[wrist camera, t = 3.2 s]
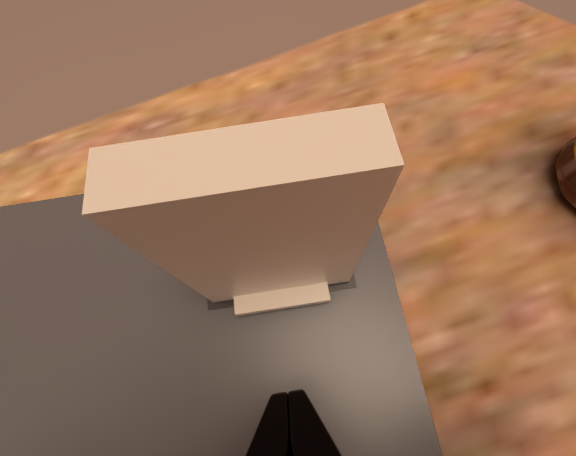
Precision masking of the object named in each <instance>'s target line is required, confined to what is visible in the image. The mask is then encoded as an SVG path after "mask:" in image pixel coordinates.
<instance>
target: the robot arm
mask: <svg viewBox="0 0 576 456" xmlns="http://www.w3.org/2000/svg"><path fill="white" fill-rule="evenodd" d="M245 456H342V455H341V453H340V451H339V450H338V448H337V446H336V444H335V443H334V441H333V439H332V437H331V436H330V434H329V432H328V430H327V429H326V427H325V425H324V424H323V422H322V420H321V418H320V417H319V415H318V413H317V411H316V410H315V408H314V406H313V404H312V403H311V401H310V399H309V397H308V396H307V394H306V392H305V391H304V390H303V389H299V390H292V391H289V392H288V393H287V392H279V393H273V394H272V395H271V396H270V398H269V400H268V403H267V405H266V408H265V410H264V412H263V415H262V417H261V419H260V422H259V424H258V427H257V429H256V431H255V434H254V436H253V439H252V441H251V443H250V446H249V448H248V450H247V453H246V455H245Z"/></svg>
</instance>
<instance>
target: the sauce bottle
mask: <svg viewBox="0 0 576 456" xmlns="http://www.w3.org/2000/svg"><path fill="white" fill-rule="evenodd" d="M555 168H556V174H557V179H558V182H559V185H560V190H561V192H562V194H563V195H564V197H565V198H566V199H567V201H568V202H569V203H570V204H572V205H573V206H574V207H575V208H576V137H575V138H574V139H572V140H571V141H569V142H568V143H567V144H566V145H565V147H564V148H563V149H562V150H561V151H560V156H559V157H558V159H557V161H556V164H555Z"/></svg>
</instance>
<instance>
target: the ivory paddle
mask: <svg viewBox="0 0 576 456" xmlns="http://www.w3.org/2000/svg"><path fill="white" fill-rule="evenodd" d="M403 167H404V162H403V159H402V156H401V153H400V150H399V147H398V144H397V141H396V138H395V135H394V132H393V129H392V126H391V123H390V120H389V117H388V114H387V111H386V108H385V105H384V103H379V104H373V105H366V106H360V107H353V108H347V109H340V110H334V111H327V112H321V113H314V114H308V115H301V116H295V117H288V118H282V119H275V120H269V121H262V122H256V123H249V124H243V125H236V126H230V127H224V128H217V129H211V130H204V131H198V132H191V133H185V134H178V135H172V136H165V137H159V138H152V139H146V140H139V141H133V142H126V143H120V144H113V145H107V146H100V147H94V148H89V156H88V165H87V173H86V182H85V190H84V199H83V208H82V215H83V216H84V217H86V218H87V219H89V220H90V221H92V222H93V223H95V224H96V225H98V226H99V227H101V228H102V229H104V230H105V231H107V232H108V233H110V234H111V235H113V236H114V237H116V238H117V239H119V240H120V241H122V242H123V243H125V244H126V245H128V246H129V247H131V248H132V249H134V250H135V251H137V252H138V253H140V254H141V255H143V256H144V257H146V258H147V259H149V260H150V261H152V262H153V263H155V264H156V265H158V266H159V267H161V268H162V269H164V270H165V271H167V272H168V273H170V274H171V275H173V276H174V277H176V278H177V279H179V280H180V281H182V282H183V283H185V284H186V285H188V286H189V287H191V288H192V289H194V290H195V291H197V292H198V293H200V294H201V295H203V296H204V297H206V298H207V299H209V300H210V301H212V302H219V301H226V300H232V299H234V312H235V315H236V316H243V315H249V314H256V313H262V312H269V311H275V310H282V309H288V308H295V307H301V306H308V305H314V304H320V303H327V302H330V300H331V299H330V294H329V289H328V285H329V284H335V283H342V282H348V281H350V279H351V277H352V275H353V273H354V270H355V268H356V266H357V264H358V262H359V260H360V258H361V256H362V253H363V251H364V249H365V247H366V245H367V243H368V241H369V239H370V237H371V234H372V232H373V230H374V228H375V226H376V224H377V222H378V220H379V218H380V215H381V213H382V211H383V209H384V207H385V205H386V203H387V201H388V198H389V196H390V194H391V192H392V190H393V188H394V186H395V184H396V182H397V179H398V177H399V175H400V173H401V171H402V169H403Z"/></svg>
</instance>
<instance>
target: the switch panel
mask: <svg viewBox="0 0 576 456" xmlns="http://www.w3.org/2000/svg"><path fill="white" fill-rule="evenodd" d="M83 199H84V194H81V195H74V196H68V197H61V198H55V199H48V200H42V201H35V202H29V203H22V204H16V205H9V206H3V207H0V456H245V455H246V453H247V450H248V448H249V446H250V443H251V441H252V439H253V436H254V434H255V431H256V429H257V427H258V424H259V422H260V419H261V417H262V415H263V412H264V410H265V408H266V405H267V403H268V400H269V398H270V396H271V395H272V394H273V393H279V392H287V393H288V392H289V391H292V390H299V389H303V390H304V391H305V392H306V394H307V396H308V397H309V399H310V401H311V403H312V404H313V406H314V408H315V410H316V411H317V413H318V415H319V417H320V418H321V420H322V422H323V424H324V425H325V427H326V429H327V430H328V432H329V434H330V436H331V437H332V439H333V441H334V443H335V444H336V446H337V448H338V450H339V451H340V453H341V455H342V456H442V452H441V448H440V445H439V441H438V437H437V434H436V430H435V426H434V423H433V419H432V416H431V412H430V408H429V405H428V401H427V397H426V394H425V390H424V387H423V383H422V379H421V376H420V372H419V368H418V365H417V361H416V357H415V354H414V350H413V347H412V343H411V339H410V336H409V332H408V328H407V325H406V321H405V317H404V314H403V310H402V307H401V303H400V299H399V296H398V292H397V288H396V285H395V281H394V278H393V274H392V270H391V267H390V263H389V259H388V256H387V252H386V248H385V245H384V241H383V238H382V234H381V230H380V227H379V223H378V222H377V224H376V226H375V228H374V230H373V232H372V234H371V237H370V239H369V241H368V243H367V245H366V247H365V249H364V251H363V253H362V256H361V258H360V260H359V262H358V264H357V266H356V268H355V270H354V273H353V275H352V277H351V279H350V281H348V282H342V283H335V284H329V285H328V289H329V294H330V299H331V300H330V302H327V303H320V304H314V305H308V306H301V307H295V308H288V309H282V310H275V311H269V312H262V313H256V314H249V315H243V316H236V315H235V312H234V299H232V300H226V301H219V302H212V301H210V300H209V299H207V298H206V297H204V296H203V295H201V294H200V293H198V292H197V291H195V290H194V289H192V288H191V287H189V286H188V285H186V284H185V283H183V282H182V281H180V280H179V279H177V278H176V277H174V276H173V275H171V274H170V273H168V272H167V271H165V270H164V269H162V268H161V267H159V266H158V265H156V264H155V263H153V262H152V261H150V260H149V259H147V258H146V257H144V256H143V255H141V254H140V253H138V252H137V251H135V250H134V249H132V248H131V247H129V246H128V245H126V244H125V243H123V242H122V241H120V240H119V239H117V238H116V237H114V236H113V235H111V234H110V233H108V232H107V231H105V230H104V229H102V228H101V227H99V226H98V225H96V224H95V223H93V222H92V221H90V220H89V219H87V218H86V217H84V216H83V215H82V208H83Z"/></svg>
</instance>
